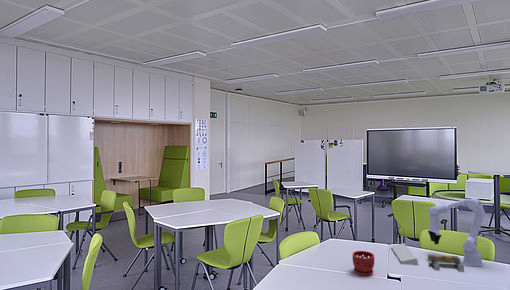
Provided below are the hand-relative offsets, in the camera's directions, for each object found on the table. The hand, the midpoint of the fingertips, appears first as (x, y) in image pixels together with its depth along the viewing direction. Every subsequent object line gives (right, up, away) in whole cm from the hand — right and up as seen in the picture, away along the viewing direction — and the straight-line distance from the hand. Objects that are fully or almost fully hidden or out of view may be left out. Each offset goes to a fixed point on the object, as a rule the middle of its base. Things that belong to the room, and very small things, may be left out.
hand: (434, 242), depth 230 cm
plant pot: (-60, -11, -28) cm, 67 cm away
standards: (-5, -10, -23) cm, 26 cm away
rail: (0, -9, -11) cm, 15 cm away
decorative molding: (-21, -11, +2) cm, 24 cm away
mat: (0, -10, -11) cm, 15 cm away
